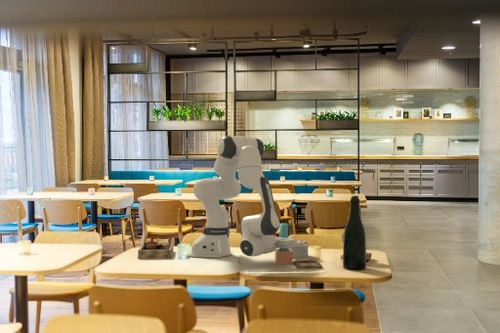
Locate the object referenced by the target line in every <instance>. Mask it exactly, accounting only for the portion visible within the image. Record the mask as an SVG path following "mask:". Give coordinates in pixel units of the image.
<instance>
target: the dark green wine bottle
mask: <svg viewBox="0 0 500 333" xmlns="http://www.w3.org/2000/svg"><path fill="white" fill-rule="evenodd" d="M360 203H361V200H360V198H359V195H351V197H350V199H349V216H348V219H347V223H346V224H345V226H344V230H343V232H344V239H343V241H342V246H343V247H342V255H343V259H342V267H343V268H344V269H345V270H349V271H362V270H365V269H366V268H367V261H366V253H367V234H366V233H367V232H366V229H365V226H364V223H363V221H362V217H361V211H360V210H361V208H360V206H361V205H360Z"/></svg>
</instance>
